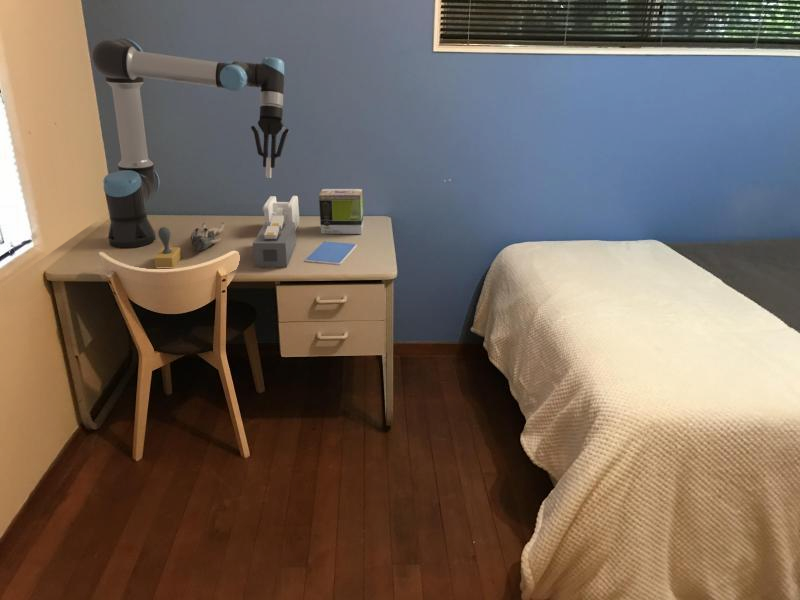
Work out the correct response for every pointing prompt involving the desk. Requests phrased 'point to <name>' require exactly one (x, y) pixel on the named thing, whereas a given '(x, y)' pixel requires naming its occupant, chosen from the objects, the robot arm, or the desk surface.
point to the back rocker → (277, 221)
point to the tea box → (341, 211)
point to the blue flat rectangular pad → (331, 253)
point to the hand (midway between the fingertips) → (268, 177)
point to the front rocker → (271, 232)
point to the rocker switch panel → (275, 246)
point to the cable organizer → (282, 210)
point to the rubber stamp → (167, 251)
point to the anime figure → (205, 236)
